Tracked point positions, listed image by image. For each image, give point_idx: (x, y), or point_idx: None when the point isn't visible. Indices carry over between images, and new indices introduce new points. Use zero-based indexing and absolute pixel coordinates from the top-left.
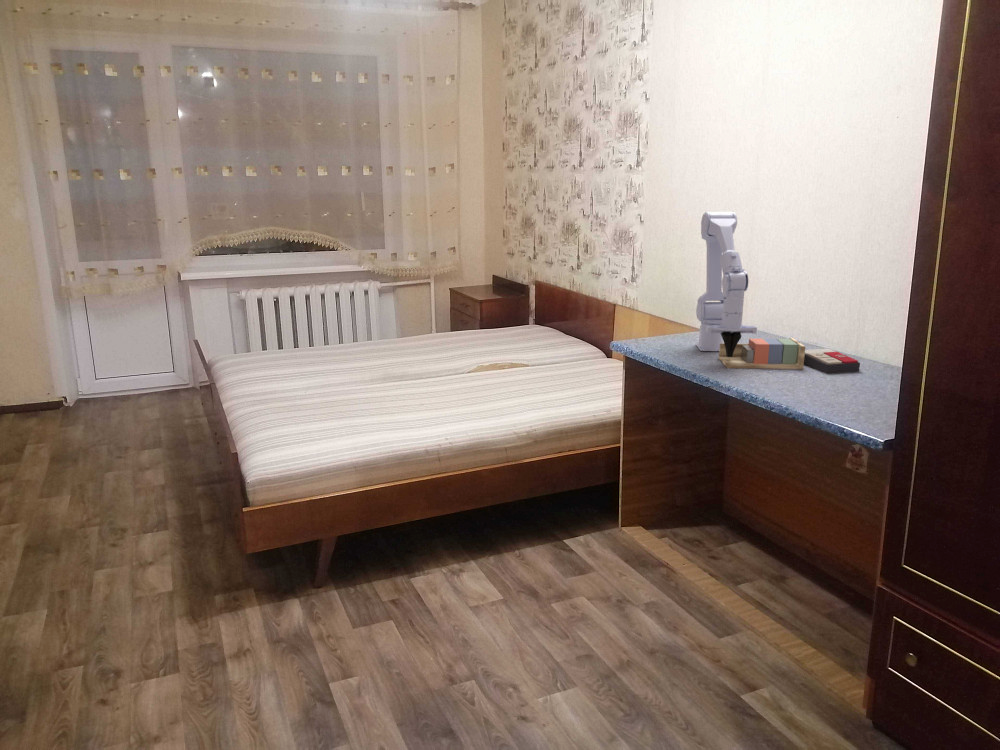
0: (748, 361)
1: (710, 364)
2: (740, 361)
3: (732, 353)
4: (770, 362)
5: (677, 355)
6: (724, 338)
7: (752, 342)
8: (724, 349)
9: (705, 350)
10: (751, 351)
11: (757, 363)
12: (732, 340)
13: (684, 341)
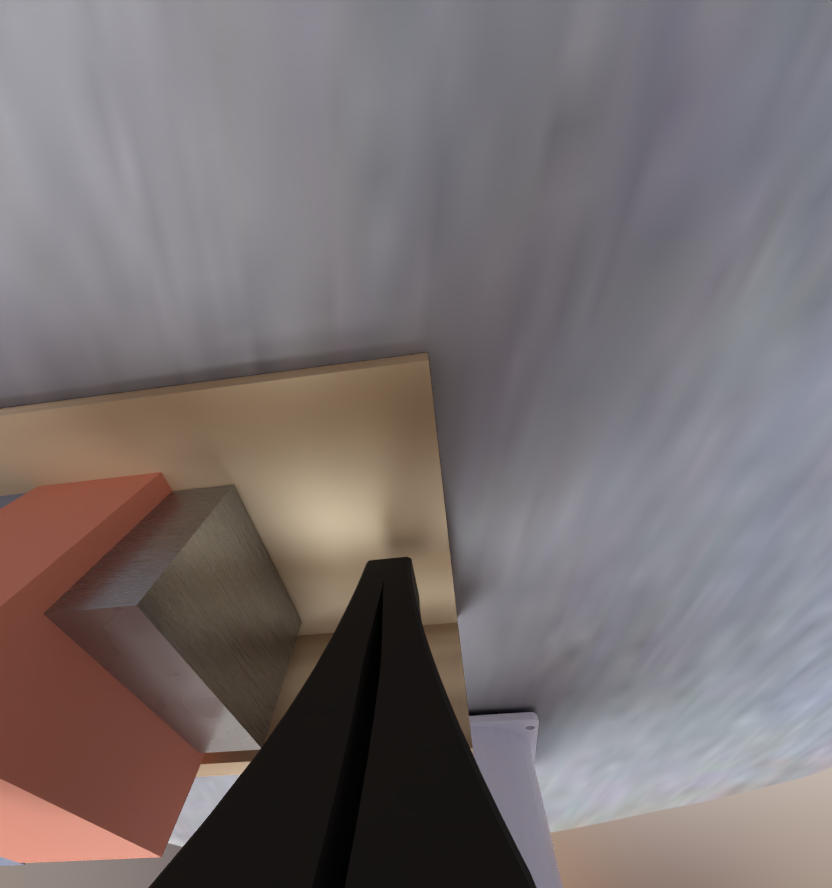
0: (209, 496)
1: (564, 461)
2: (296, 527)
3: (361, 588)
4: (2, 503)
5: (716, 637)
6: (521, 862)
7: (65, 781)
8: None
9: (510, 716)
10: (99, 590)
11: (125, 477)
12: (344, 804)
13: (560, 792)
